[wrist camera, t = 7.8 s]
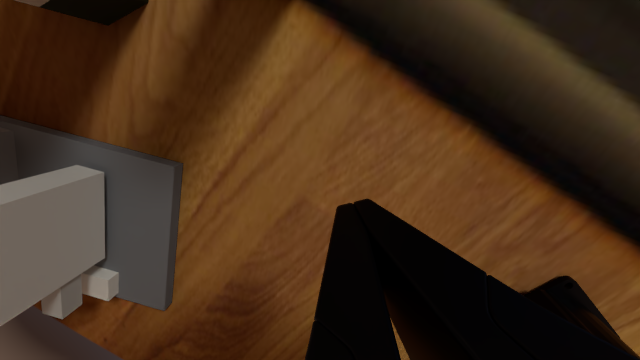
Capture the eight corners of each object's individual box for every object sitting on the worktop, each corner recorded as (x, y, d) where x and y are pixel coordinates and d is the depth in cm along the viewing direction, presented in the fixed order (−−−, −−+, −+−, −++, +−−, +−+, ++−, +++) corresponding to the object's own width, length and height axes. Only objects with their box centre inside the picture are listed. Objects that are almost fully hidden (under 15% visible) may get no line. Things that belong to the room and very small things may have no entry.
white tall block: (104, 172, 20) (-133, 246, 10) (105, 289, 23) (-75, 430, 13) (77, 164, 20) (-182, 231, 10) (82, 282, 23) (-114, 417, 13)
